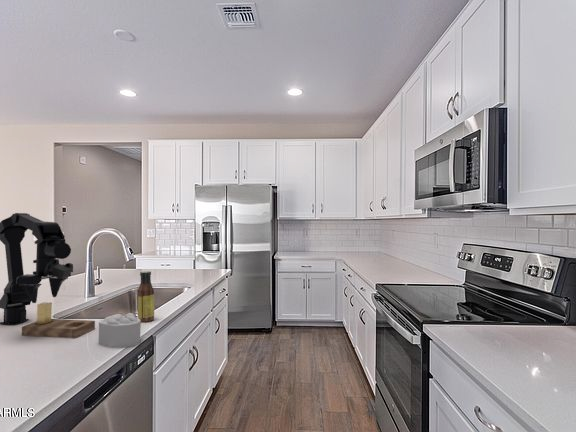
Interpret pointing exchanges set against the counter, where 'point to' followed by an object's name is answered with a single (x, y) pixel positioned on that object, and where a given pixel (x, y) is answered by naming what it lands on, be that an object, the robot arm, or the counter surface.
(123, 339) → the lumpy-topped squat cylinder
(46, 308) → the pin
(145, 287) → the sauce bottle
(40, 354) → the counter surface
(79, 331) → the mount board
